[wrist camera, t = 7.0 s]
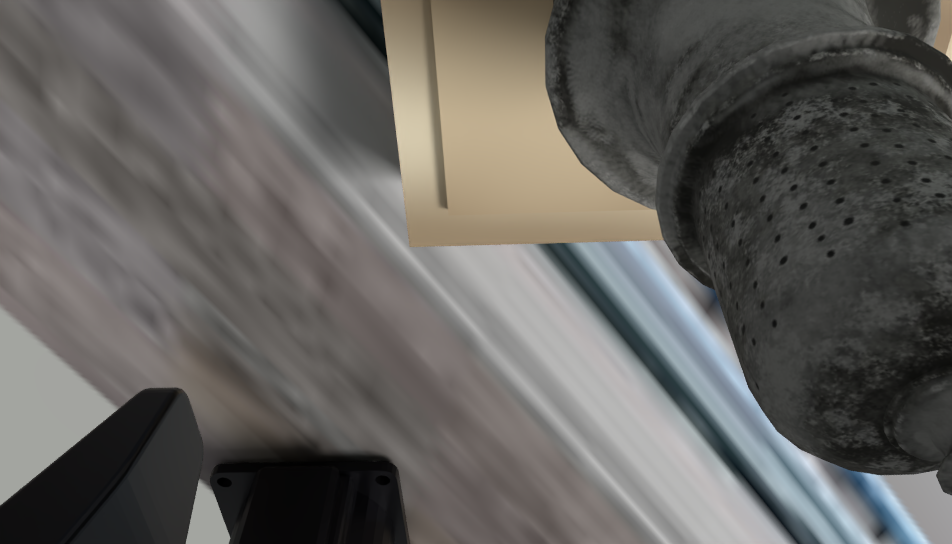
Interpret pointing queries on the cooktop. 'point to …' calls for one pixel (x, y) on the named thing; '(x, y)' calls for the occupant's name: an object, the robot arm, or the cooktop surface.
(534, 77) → the soap dish
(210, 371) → the cooktop surface
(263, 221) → the cooktop surface
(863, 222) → the salt shaker
